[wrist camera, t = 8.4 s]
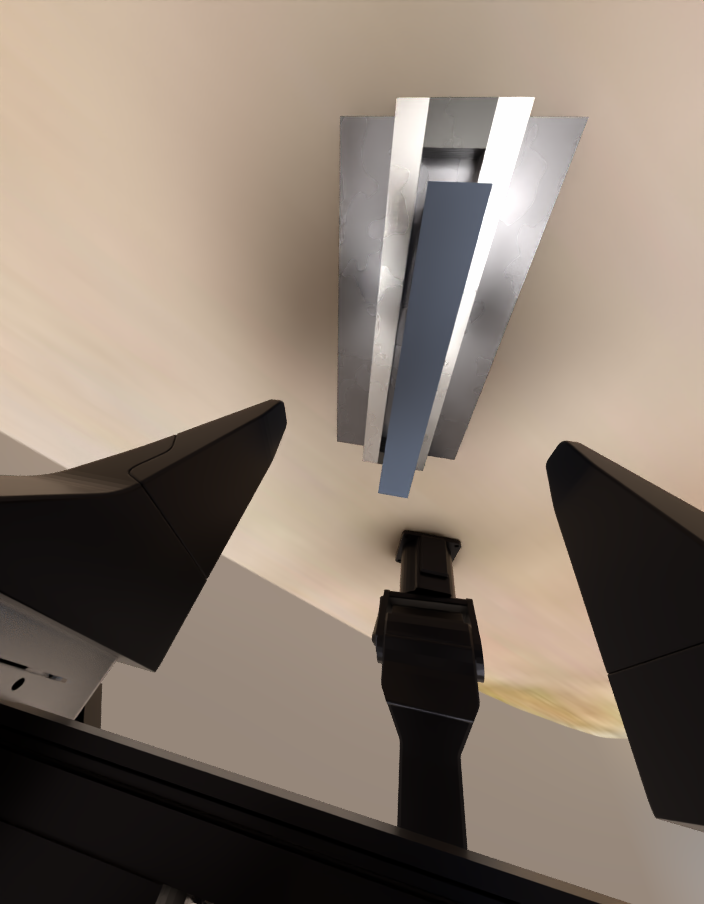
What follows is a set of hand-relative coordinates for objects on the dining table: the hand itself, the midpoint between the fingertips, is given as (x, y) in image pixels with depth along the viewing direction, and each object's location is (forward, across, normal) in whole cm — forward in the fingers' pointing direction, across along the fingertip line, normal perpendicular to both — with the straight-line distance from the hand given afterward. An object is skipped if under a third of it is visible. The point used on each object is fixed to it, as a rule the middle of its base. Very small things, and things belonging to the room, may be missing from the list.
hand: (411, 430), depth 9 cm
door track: (+11, 0, 0) cm, 11 cm away
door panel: (+10, 0, 0) cm, 10 cm away
